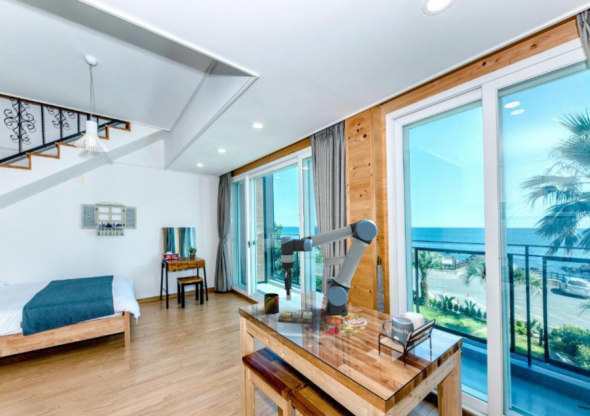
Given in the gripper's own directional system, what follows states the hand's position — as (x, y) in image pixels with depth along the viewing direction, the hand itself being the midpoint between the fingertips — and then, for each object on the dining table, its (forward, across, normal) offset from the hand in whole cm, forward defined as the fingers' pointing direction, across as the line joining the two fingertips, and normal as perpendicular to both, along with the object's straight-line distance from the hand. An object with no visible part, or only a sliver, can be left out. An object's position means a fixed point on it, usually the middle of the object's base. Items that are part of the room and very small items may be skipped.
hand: (288, 299), depth 162 cm
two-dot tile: (+11, 0, +5) cm, 12 cm away
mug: (+12, -10, -15) cm, 22 cm away
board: (+12, 0, +5) cm, 13 cm away
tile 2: (+11, 0, +11) cm, 16 cm away
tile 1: (+12, 0, -2) cm, 12 cm away
